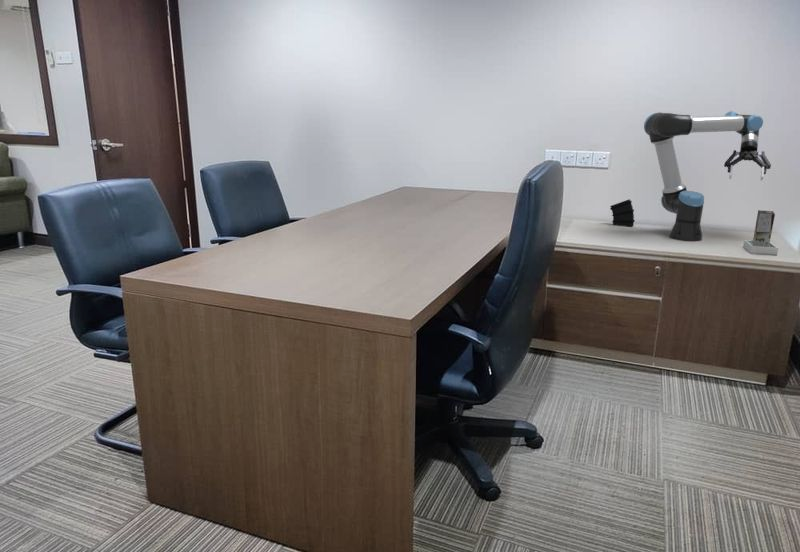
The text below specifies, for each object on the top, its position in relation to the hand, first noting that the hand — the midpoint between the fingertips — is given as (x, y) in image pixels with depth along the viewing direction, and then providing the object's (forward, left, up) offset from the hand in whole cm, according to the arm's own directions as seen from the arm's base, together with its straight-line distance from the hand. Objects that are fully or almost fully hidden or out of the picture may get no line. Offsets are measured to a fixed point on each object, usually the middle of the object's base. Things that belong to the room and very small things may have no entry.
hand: (746, 177), depth 294 cm
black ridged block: (-54, +23, -32) cm, 67 cm away
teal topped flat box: (+5, -22, -32) cm, 39 cm away
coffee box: (+5, -22, -29) cm, 37 cm away
